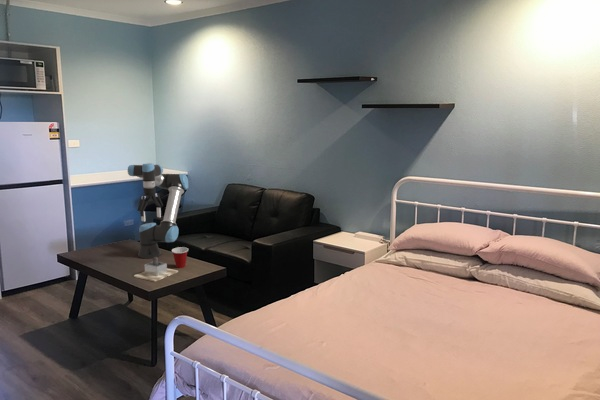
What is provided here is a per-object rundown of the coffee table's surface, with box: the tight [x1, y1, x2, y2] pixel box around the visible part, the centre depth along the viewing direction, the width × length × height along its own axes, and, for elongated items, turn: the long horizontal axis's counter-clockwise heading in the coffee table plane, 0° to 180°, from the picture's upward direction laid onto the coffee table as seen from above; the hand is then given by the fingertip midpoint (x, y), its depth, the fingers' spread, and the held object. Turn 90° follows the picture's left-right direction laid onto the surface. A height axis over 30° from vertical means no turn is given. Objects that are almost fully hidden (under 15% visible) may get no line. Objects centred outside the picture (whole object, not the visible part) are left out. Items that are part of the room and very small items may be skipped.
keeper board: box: [133, 256, 179, 282], centre depth 298 cm, size 20×18×12 cm
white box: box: [144, 260, 168, 276], centre depth 298 cm, size 8×11×6 cm
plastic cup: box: [171, 246, 189, 269], centre depth 313 cm, size 11×11×12 cm
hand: (151, 219), depth 311 cm, fingers open, 13 cm apart
